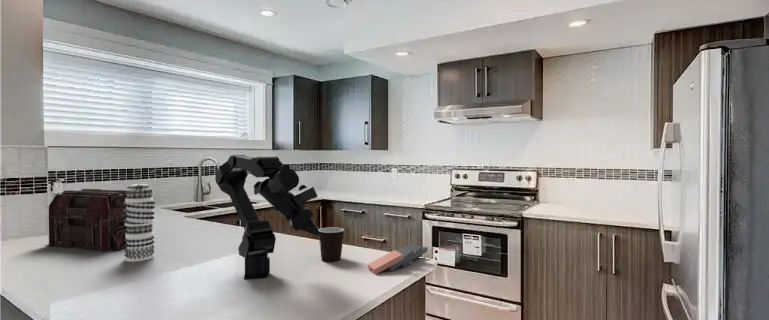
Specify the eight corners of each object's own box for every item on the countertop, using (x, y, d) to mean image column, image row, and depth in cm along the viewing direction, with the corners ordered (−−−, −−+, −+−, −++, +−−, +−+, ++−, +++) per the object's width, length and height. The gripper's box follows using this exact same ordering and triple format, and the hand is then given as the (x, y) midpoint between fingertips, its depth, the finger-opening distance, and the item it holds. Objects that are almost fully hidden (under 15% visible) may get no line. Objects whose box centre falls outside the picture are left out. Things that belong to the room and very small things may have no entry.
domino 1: (374, 269, 113) (402, 254, 117) (367, 264, 118) (394, 250, 122) (375, 274, 114) (403, 259, 117) (368, 269, 118) (396, 254, 122)
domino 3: (402, 263, 119) (421, 246, 126) (390, 259, 123) (409, 243, 129) (403, 268, 120) (422, 250, 126) (392, 264, 123) (410, 247, 130)
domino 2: (390, 267, 116) (412, 250, 122) (379, 263, 119) (401, 247, 125) (391, 271, 116) (413, 254, 122) (381, 268, 120) (403, 251, 126)
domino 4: (414, 253, 126) (427, 247, 135) (401, 251, 129) (414, 245, 137) (414, 258, 126) (427, 251, 135) (401, 256, 129) (414, 249, 137)
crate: (40, 246, 146) (39, 191, 146) (90, 235, 164) (89, 187, 164) (111, 253, 137) (110, 194, 136) (155, 241, 155) (155, 189, 154)
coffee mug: (339, 263, 124) (339, 233, 124) (314, 262, 126) (314, 231, 125) (349, 254, 135) (349, 226, 135) (326, 253, 137) (326, 225, 137)
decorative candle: (137, 263, 124) (136, 185, 124) (116, 260, 127) (115, 185, 127) (161, 255, 133) (161, 183, 132) (142, 253, 136) (141, 182, 135)
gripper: (305, 178, 99) (346, 218, 103) (295, 174, 117) (331, 208, 121) (273, 210, 97) (317, 250, 101) (268, 201, 114) (306, 235, 118)
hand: (318, 234), depth 110 cm, fingers closed
